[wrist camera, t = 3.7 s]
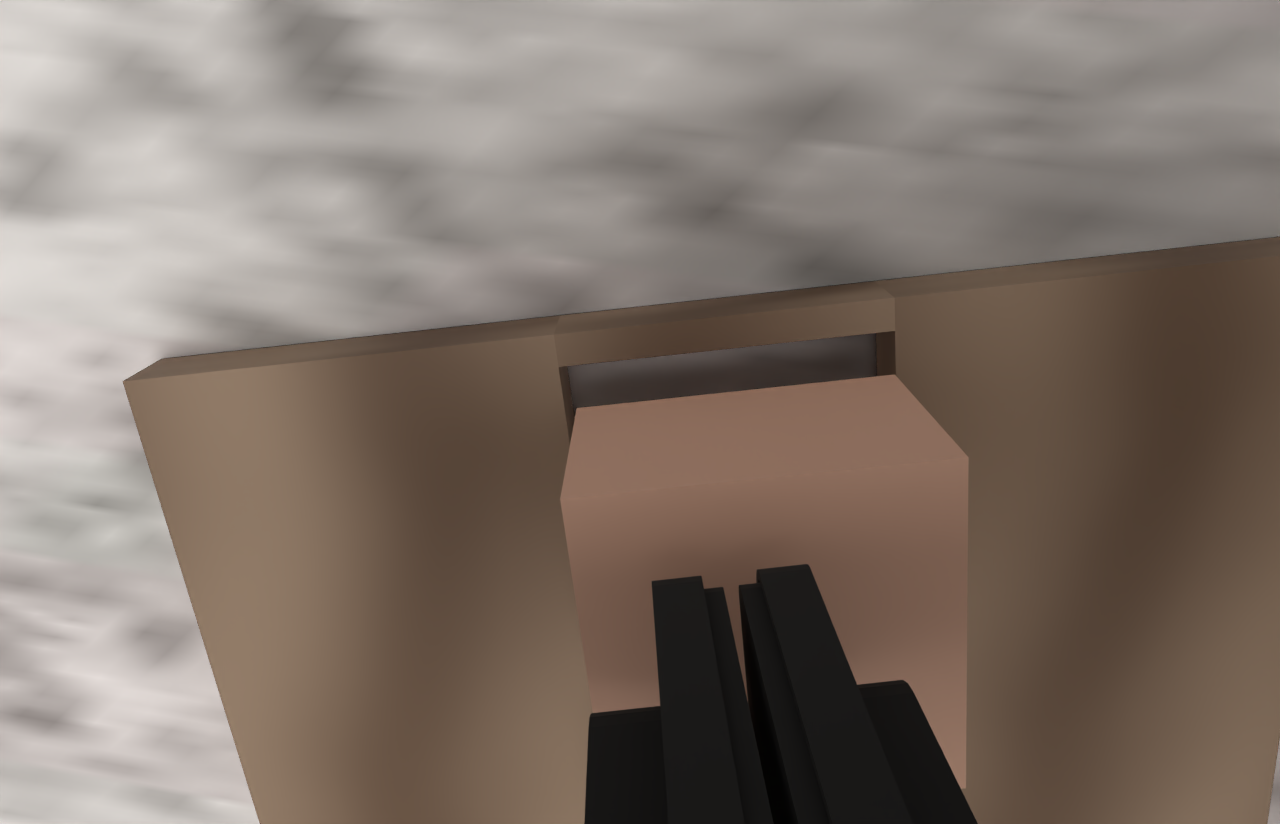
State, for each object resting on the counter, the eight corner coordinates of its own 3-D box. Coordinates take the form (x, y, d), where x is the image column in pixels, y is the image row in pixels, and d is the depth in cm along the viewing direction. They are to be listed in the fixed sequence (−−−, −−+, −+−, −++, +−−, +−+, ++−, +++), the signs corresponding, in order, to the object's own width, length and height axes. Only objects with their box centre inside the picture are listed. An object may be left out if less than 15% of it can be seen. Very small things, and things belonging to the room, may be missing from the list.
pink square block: (894, 374, 13) (967, 456, 10) (900, 648, 14) (966, 787, 11) (577, 408, 13) (560, 499, 10) (614, 675, 14) (609, 820, 12)
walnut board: (1294, 234, 14) (1349, 247, 13) (1192, 1055, 20) (1225, 1113, 19) (161, 358, 15) (122, 381, 14) (384, 1121, 21) (370, 1180, 20)
